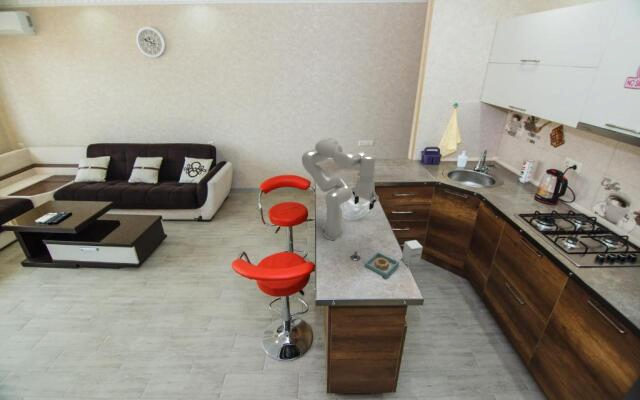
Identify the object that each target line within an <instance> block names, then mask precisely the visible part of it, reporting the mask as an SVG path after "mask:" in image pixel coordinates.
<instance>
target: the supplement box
mask: <svg viewBox="0 0 640 400" xmlns="http://www.w3.org/2000/svg"><path fill="white" fill-rule="evenodd" d="M403 244H404V245H403V249H402V255H401V260H402V261H403V263H404V262H405V263H404V264H405V265H406V263H407V265H408V266H407V265H406V266H407V267H408V268H409V267H414V266H420V264H421V263H420V262H421V258H422V253H423V248H424V246H422V244H420V242H419V241H418V240H416V239H414V240H407V241H404V242H403ZM405 260H406V261H405Z"/></svg>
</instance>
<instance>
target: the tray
mask: <svg viewBox="0 0 640 400" xmlns="http://www.w3.org/2000/svg"><path fill="white" fill-rule="evenodd" d="M377 258H385V259H387V260H388V262H389V263H390V264H392V266H391V268H388V270H386V272H385V271H384V270H379V269H377V268H376V267H375V265H372V264H371V263H373V262H374V261H375V260H376V259H377ZM399 266H400V262H399V260H395V259H394V258H391V257H389V256H387V255H386V254H382V253H381V252H379V251H378V252H376V253H375V254H374V255H373V256H371V258H369V259H368V260H366V261H365V262H364V267H365V268H366V269H369V270H370V271H372V272H374V273H376V274H378V275H380V276H382V278H383V279H385V280H387V279H388V278H389V277H390V276H391V275H392V274H393V273H394V272H395V271H396V270H397V269H398V268H397V267H399ZM396 268H397V269H396Z"/></svg>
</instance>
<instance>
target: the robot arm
mask: <svg viewBox="0 0 640 400" xmlns="http://www.w3.org/2000/svg"><path fill="white" fill-rule="evenodd" d="M329 158H330V159H332V160H333V162H334V163H335V164H336V165H338V166H340V167H343V168H346V169H350V168H355V167H357V166H359V172H358V173H357V176H358V178H357V179H356V183H355V187H354V186H353V187H351V189H350V187H349V186H348V185H347V183H346V181H344V179H343V177H342V176H341V175H340V174H338V173H336V172H332V173H329V174H328V173H326V171H325V169H323V167H321V166H320V165H318V164H317V163H321V162H324V161H326V160H328V159H329ZM301 163H302V166H303V168H304V170H306V172H307V173H308V174H309V176H311V177H312V179H313V181H314V182H315V183H316V185H317V186H318V188H319V189H320V191H322V192H324V193H325V192H327V194H326V195H325V198H324V199H325V200H324V201H325V205H326V224H325V223H324V224H323V226H322V229H323V230H324V232H323V236H324V238H326V239H327V240H329V241H336V240H338V239H341V238H342V237H344V233H343V230H342V223H343V222H342V220H343V219H342V217H343V210H342V208H341V204H344V203H346V202H348V201H350V200H351V199H352V196H353V198H354V205H357V204H359V202H360V198H361V199H364V200H366V201H369V204H368V205H369V207H368V209H369V211H371V210H372V209H374V207H375V203H376V202H377V201H379V198H380V197H379V195H377V193H376V192H375V180H374V174H375V166H376V156H375V155H374V154H370V153H367V152H365V151H363V150H359V149H357V150H355V151H352V152H348V153H346V152H345V153H344V152H343V147H342V146H341V145H340V144H339V143H338V140H336V138H333V137H331V138H326V139H322V140H319V141H317V143H316V144H315V147H314V148H313V149H311V150H308V151H305V152H304V153H303V154H302V156H301ZM352 194H353V195H352Z"/></svg>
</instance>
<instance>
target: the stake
mask: <svg viewBox="0 0 640 400" xmlns="http://www.w3.org/2000/svg"><path fill="white" fill-rule="evenodd" d="M349 259H350V260H351V261H353V262H358V261H360V260H361V259H362V258H361V256H360V255H358V251H354V252H353V254H351V255H350V256H349Z"/></svg>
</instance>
